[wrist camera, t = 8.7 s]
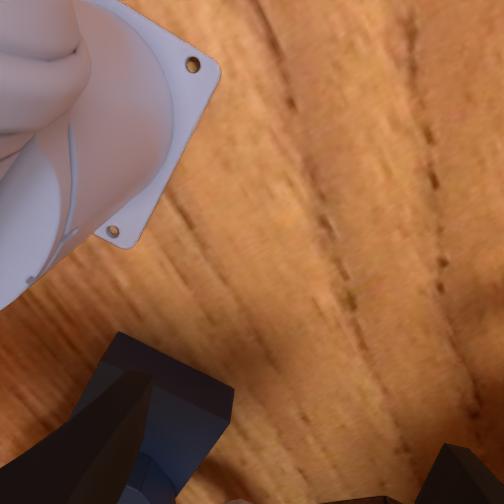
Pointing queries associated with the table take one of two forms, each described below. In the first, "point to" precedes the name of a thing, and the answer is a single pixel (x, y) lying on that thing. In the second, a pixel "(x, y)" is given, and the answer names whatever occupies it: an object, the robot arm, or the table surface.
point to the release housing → (165, 418)
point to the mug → (368, 503)
